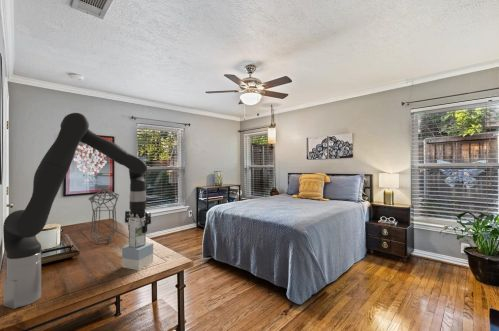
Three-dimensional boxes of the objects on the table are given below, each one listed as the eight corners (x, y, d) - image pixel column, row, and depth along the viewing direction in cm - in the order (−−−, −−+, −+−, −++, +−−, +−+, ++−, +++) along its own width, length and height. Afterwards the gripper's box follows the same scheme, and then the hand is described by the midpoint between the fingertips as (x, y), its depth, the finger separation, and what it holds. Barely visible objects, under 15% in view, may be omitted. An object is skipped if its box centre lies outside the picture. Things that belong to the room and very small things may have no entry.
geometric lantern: (119, 237, 165) (120, 186, 164) (115, 245, 150) (116, 189, 149) (92, 239, 159) (93, 187, 158) (85, 247, 144) (86, 190, 143)
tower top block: (138, 260, 114) (138, 249, 114) (122, 257, 117) (122, 247, 117) (153, 253, 123) (153, 243, 123) (137, 250, 127) (137, 241, 127)
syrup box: (139, 242, 124) (139, 214, 124) (146, 244, 121) (145, 216, 120) (128, 245, 119) (128, 217, 119) (135, 248, 116) (134, 218, 116)
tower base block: (138, 270, 114) (138, 260, 114) (122, 267, 117) (122, 257, 117) (153, 262, 124) (153, 252, 124) (137, 260, 127) (137, 250, 127)
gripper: (120, 200, 119) (120, 232, 119) (143, 201, 114) (143, 235, 114) (132, 198, 126) (132, 228, 126) (154, 199, 121) (154, 231, 122)
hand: (137, 232), depth 120 cm, fingers open, 8 cm apart
